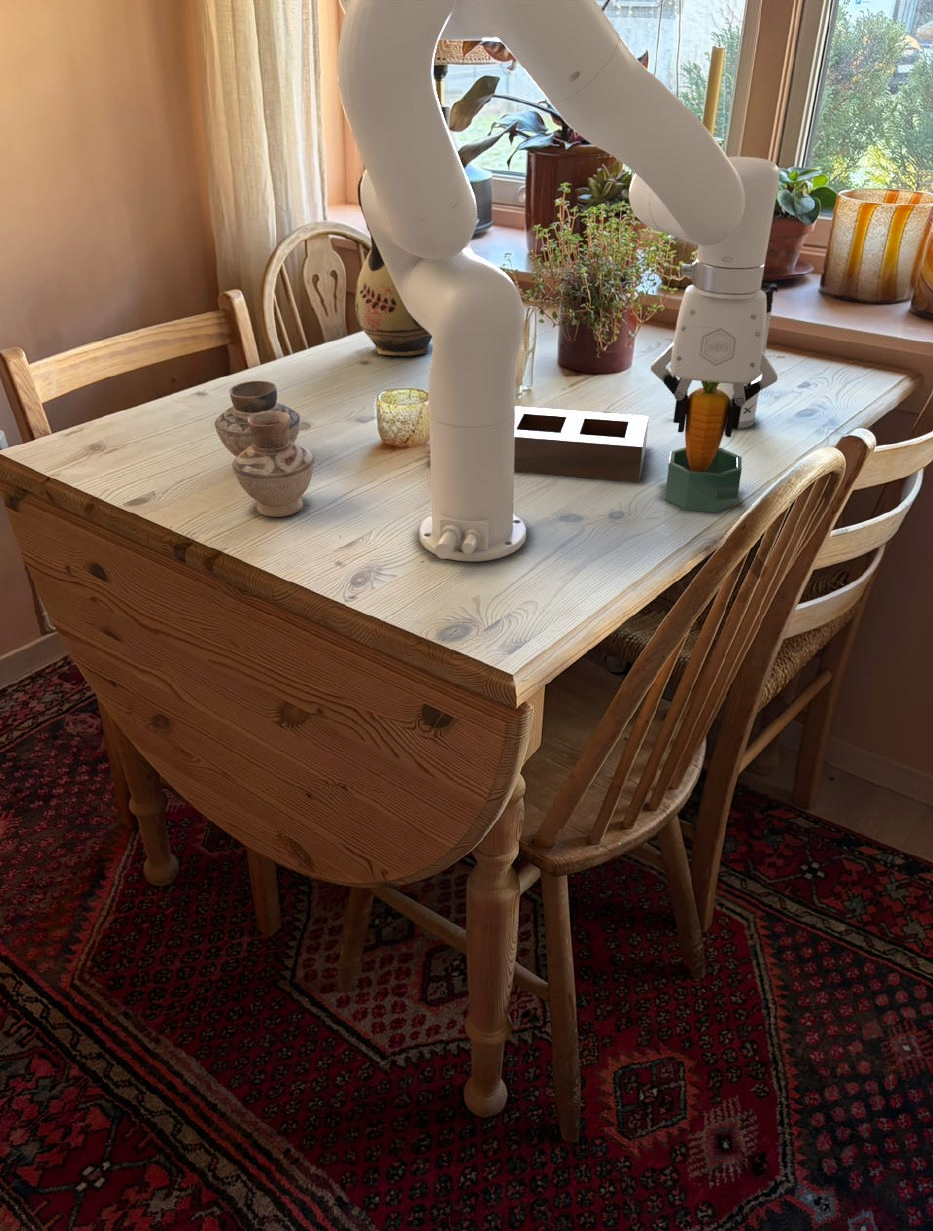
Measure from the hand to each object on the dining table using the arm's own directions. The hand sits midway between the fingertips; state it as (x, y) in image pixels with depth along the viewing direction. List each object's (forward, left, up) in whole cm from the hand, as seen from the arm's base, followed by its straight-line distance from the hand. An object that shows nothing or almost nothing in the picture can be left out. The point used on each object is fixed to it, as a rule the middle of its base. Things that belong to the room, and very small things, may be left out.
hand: (704, 429), depth 121 cm
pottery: (-7, +55, -9) cm, 56 cm away
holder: (0, -1, -9) cm, 9 cm away
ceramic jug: (+50, +54, -9) cm, 75 cm away
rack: (+8, +21, -9) cm, 25 cm away
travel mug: (+27, -5, -9) cm, 29 cm away
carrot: (0, 0, -7) cm, 7 cm away
